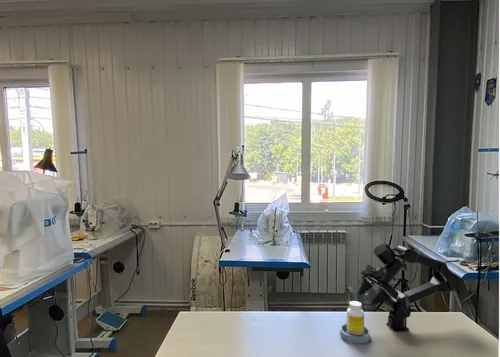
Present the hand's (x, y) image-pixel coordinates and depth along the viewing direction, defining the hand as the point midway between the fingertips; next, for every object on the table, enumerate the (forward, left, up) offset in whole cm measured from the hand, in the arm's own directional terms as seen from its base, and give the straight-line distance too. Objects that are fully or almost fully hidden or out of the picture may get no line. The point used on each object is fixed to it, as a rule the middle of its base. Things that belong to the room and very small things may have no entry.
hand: (365, 299), depth 133 cm
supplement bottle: (+5, +2, -13) cm, 15 cm away
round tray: (+6, +2, -14) cm, 15 cm away
